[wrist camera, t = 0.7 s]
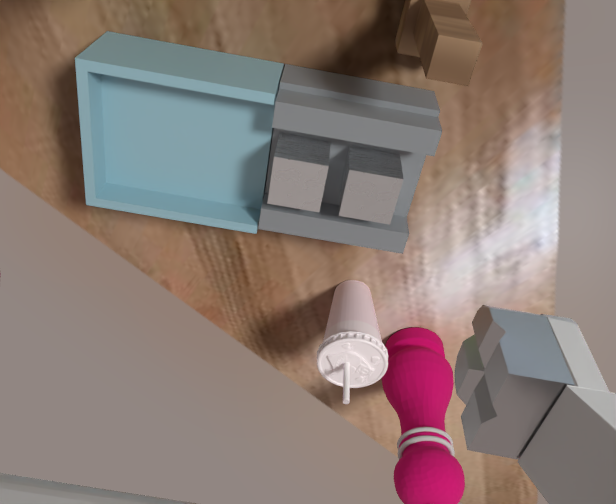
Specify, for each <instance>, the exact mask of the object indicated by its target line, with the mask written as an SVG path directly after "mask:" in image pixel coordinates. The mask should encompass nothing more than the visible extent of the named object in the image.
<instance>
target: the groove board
mask: <svg viewBox="0 0 616 504" xmlns="http://www.w3.org/2000/svg"><path fill="white" fill-rule="evenodd" d="M439 113H440V109H439V106H438V102H437V99H436V96H435V93H434V91H430V90H425V89H419V88H414V87H408V86H403V85H397V84H392V83H386V82H381V81H376V80H370V79H365V78H359V77H354V76H348V75H343V74H337V73H332V72H326V71H321V70H316V69H310V68H305V67H299V66H294V65H288V64H285V67H284V70H283V74H282V77H281V81H280V86H279V91H278V94H277V98H276V102H275V109H274V117H273V124H272V127H273V128H274V130H273V137H272V145H271V152H270V159H269V167H268V174H267V181H266V188H265V194H264V198H263V203H262V207H261V213H260V220H259V227H258V229H261V230H267V231H273V232H279V233H284V234H290V235H296V236H302V237H308V238H314V239H320V240H326V241H331V242H337V243H343V244H349V245H355V246H361V247H367V248H373V249H378V250H384V251H390V252H396V253H402V254H403V251H404V248H405V245H406V242H407V239H408V236H409V230H408V223H407V215H408V211H409V208H410V205H411V202H412V199H413V196H414V192H415V189H416V186H417V183H418V180H419V177H420V173H421V170H422V167H423V164H424V161H425V157H426V155H430V156H434V155H435V152H436V149H437V146H438V143H439V140H440V137H441V134H442V129H441V125H440V122H439V118H438V116H439ZM280 133H283V134H288V135H294V136H300V137H305V138H311V139H316V140H322V141H328V142H331V144H330V157H329V168H328V173H327V178H326V182H325V187H324V192H323V197H322V202H321V207H320V211H319V212H314V211H308V210H302V209H296V208H291V207H285V206H279V205H273V204H267V202H268V195H269V188H270V181H271V174H272V167H273V160H274V154H275V150H276V146H277V142H278V138H279V134H280ZM349 146H356V147H361V148H367V149H373V150H378V151H384V152H389V153H395V154H400V158H401V165H402V172H403V179H404V180H403V183H402V186H401V190H400V193H399V196H398V200H397V203H396V207H395V210H394V213H393V217H392V220H391V223H390V225H389V224H383V223H378V222H372V221H366V220H360V219H354V218H349V217H343V216H339V194H340V186H341V181H342V177H343V173H344V168H345V164H346V159H347V155H348V150H349Z"/></svg>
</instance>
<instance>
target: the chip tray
mask: <svg viewBox="0 0 616 504" xmlns="http://www.w3.org/2000/svg"><path fill="white" fill-rule="evenodd" d="M75 66H76V79H77V92H78V105H79V118H80V131H81V144H82V157H83V170H84V184H85V197H86V205H90V206H96V207H102V208H107V209H113V210H119V211H125V212H131V213H137V214H143V215H149V216H155V217H160V218H166V219H172V220H178V221H184V222H190V223H196V224H202V225H207V226H213V227H219V228H225V229H231V230H237V231H243V232H249V233H255V234H256V233H257V229H258V225H259V220H260V213H261V207H262V203H263V198H264V194H265V188H266V181H267V174H268V167H269V159H270V152H271V145H272V137H273V130H274V128H273V127H272V124H273V117H274V109H275V102H276V98H277V94H278V91H279V86H280V81H281V77H282V74H283V68H284V64H283V63H277V62H272V61H267V60H261V59H256V58H250V57H245V56H239V55H234V54H228V53H223V52H217V51H212V50H207V49H201V48H196V47H190V46H185V45H179V44H174V43H168V42H163V41H158V40H152V39H147V38H141V37H136V36H130V35H125V34H119V33H114V32H108V31H107V32H106V33H105V34H103V35H102V36H101V37H100V38H99V39H97V40H96V41H95V42H94V43H92V44H91V45H90V46H89V47H88V48H86V49H85V50H84V51H83V52H82V53H80V54H79V55H78V56H77V57H75Z"/></svg>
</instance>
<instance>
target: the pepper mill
mask: <svg viewBox="0 0 616 504" xmlns="http://www.w3.org/2000/svg"><path fill="white" fill-rule="evenodd" d="M385 347H386V349H387V352H388V368H387V371H386V373H385V374H384V376H383V377H382V384H383V389H384V392H385V394H386V397H387V399H388V401H389V402H390V404H391V405H392V406H393V408H394V409H395V411H396V412H397V414H398V417H399V419H400V425H401V437H400V438H399V440H398V442H397V448H398V458H399V461H398V463H397V464H396V466H395V470H394V482H395V488H396V491H397V494H398V496H399V498H400V499H401V500H402V502H403V503H404V504H457V503H458V502H459V501H460V499H461V498H462V496H463V492H464V487H465V482H464V473H463V470H462V467H461V465H460V464H459V462H458V461H457V459H456V458H455V457H454V449H453V441H452V439H451V437H450V436H449V435H448V434H447V433H446V431H445V424H444V419H445V413H446V410H447V407H448V404H449V401H450V399H451V396H452V390H453V384H454V383H453V371H452V368H451V366H450V364H449V362H448V361H447V360H446V359H445V354H444V348H443V343H442V341H441V339H440V338H439V337H438V335H436V334H435V333H434V332H432V331H430V330H428V329H424V328H419V327H411V328H406V329H402V330H400V331H398V332H396V333H394V334H393V335H392V336H391V337H390V338H389V339H388V340H387V342H386V345H385Z"/></svg>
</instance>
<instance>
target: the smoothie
mask: <svg viewBox="0 0 616 504" xmlns="http://www.w3.org/2000/svg"><path fill="white" fill-rule="evenodd" d="M317 367H318V370H319V372H320V373H321V375H322V376H323V377H324V378H325V379H326V380H328V381H329V382H331V383H333V384H335V385H338V386H342V387H343V403H344V404H349V402H350V388H360V387H365V386H369V385H371V384H373V383H375V382H377V381H378V380H380V379H381V378H382V377H383V376H384V374H385V373H386V371H387V368H388V352H387V349H386V347H385V346H384V344H383V343H382V340H381V336H380V332H379V327H378V323H377V318H376V314H375V310H374V305H373V301H372V296H371V292H370V289H369V287H368V286H367V285H366V284H364V283H363V282H361V281H357V280H347V281H344V282H342V283H340V284H339V285H338V286H337V287H336V289H335V292H334V296H333V301H332V305H331V309H330V314H329V318H328V322H327V327H326V331H325V335H324V339H323V343H322V344H321V345H320V346H319V349H318V351H317Z"/></svg>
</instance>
